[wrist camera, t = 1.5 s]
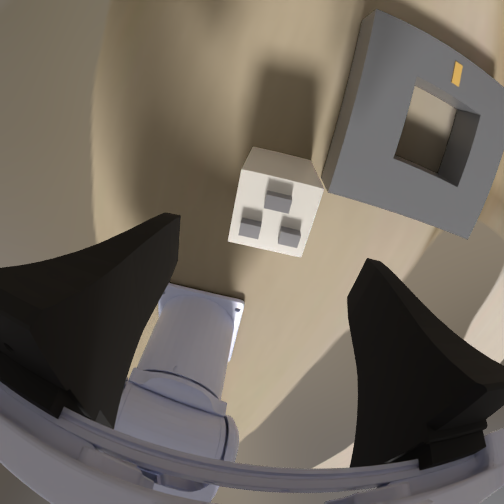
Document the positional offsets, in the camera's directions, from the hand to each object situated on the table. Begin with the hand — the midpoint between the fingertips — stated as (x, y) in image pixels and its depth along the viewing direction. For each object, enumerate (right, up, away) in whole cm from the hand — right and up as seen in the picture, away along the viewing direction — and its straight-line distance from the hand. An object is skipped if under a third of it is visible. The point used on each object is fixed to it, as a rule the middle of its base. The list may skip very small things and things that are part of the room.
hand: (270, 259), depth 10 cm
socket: (+11, +9, +5) cm, 15 cm away
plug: (+1, +5, +8) cm, 10 cm away
